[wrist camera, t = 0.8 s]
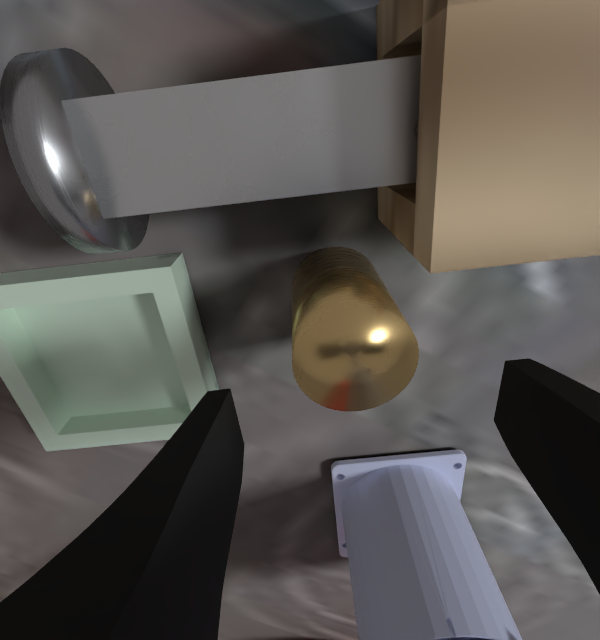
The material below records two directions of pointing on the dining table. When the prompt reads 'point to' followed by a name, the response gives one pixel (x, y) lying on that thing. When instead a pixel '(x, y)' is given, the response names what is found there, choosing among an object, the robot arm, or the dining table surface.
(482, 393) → the dining table surface
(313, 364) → the cylinder
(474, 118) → the bearing block
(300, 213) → the dining table surface
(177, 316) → the pale green square tray
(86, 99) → the shaft
